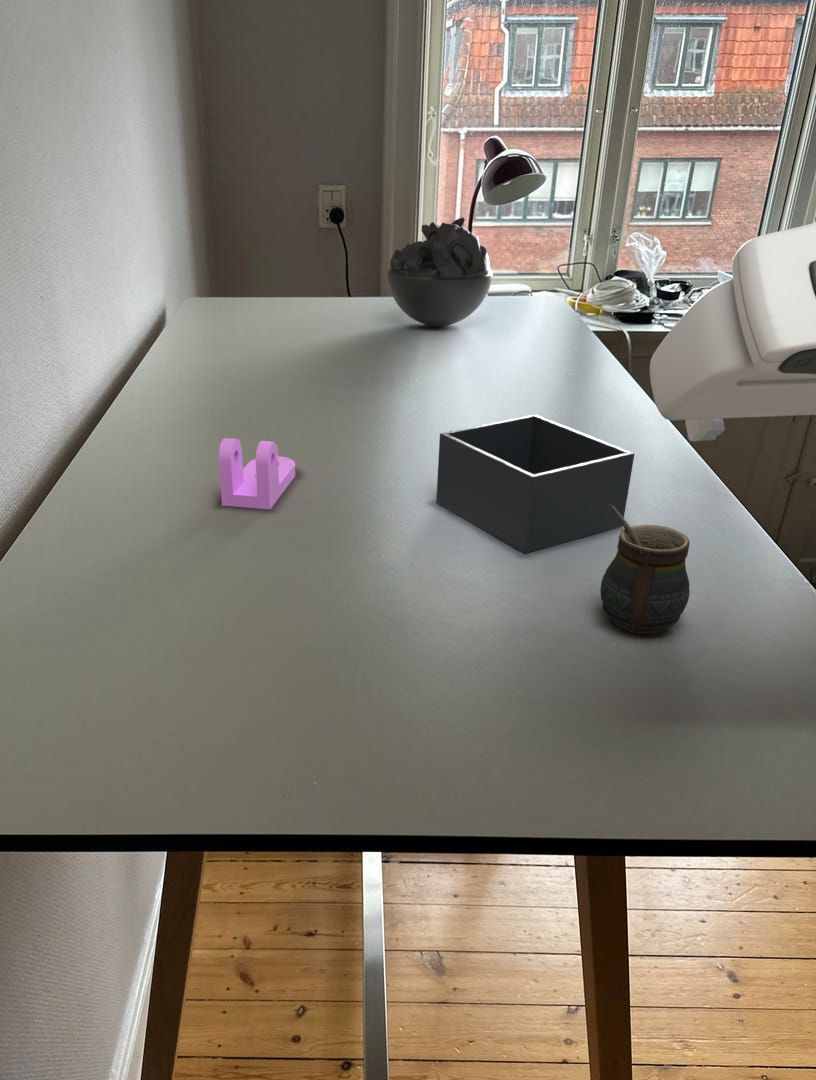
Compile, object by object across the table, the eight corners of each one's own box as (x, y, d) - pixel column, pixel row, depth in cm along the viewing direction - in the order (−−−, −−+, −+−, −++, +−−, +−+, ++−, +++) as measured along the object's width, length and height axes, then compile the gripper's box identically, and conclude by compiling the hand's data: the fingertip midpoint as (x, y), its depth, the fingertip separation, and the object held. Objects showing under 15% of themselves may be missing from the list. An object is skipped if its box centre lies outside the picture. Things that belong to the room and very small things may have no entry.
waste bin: (528, 481, 108) (535, 414, 104) (622, 526, 96) (634, 453, 92) (435, 503, 102) (439, 433, 98) (524, 554, 91) (532, 477, 87)
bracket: (270, 509, 101) (267, 448, 97) (221, 505, 102) (217, 444, 98) (300, 468, 112) (299, 412, 108) (256, 465, 113) (253, 409, 109)
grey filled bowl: (421, 341, 168) (425, 229, 159) (367, 320, 184) (369, 218, 174) (509, 329, 176) (519, 222, 167) (451, 310, 191) (457, 212, 182)
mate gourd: (679, 650, 75) (704, 538, 70) (585, 633, 77) (602, 524, 72) (685, 610, 81) (709, 504, 76) (598, 595, 83) (614, 492, 78)
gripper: (1100, 233, 46) (911, 377, 59) (713, 239, 44) (607, 387, 57) (1137, 344, 45) (934, 467, 58) (737, 356, 43) (623, 480, 56)
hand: (769, 427), depth 58 cm, fingers open, 8 cm apart
